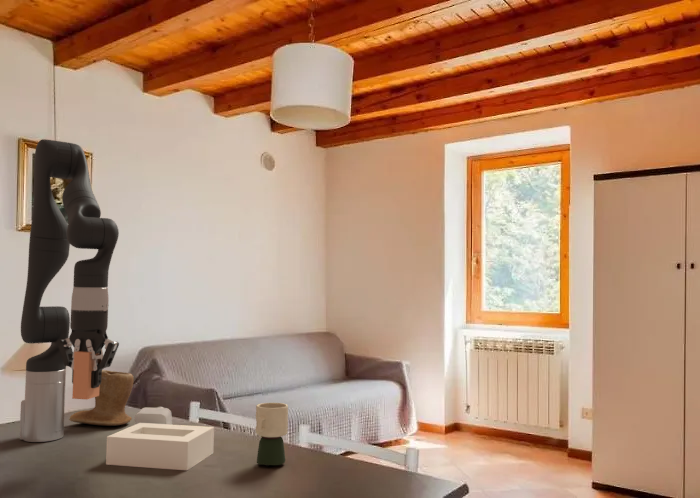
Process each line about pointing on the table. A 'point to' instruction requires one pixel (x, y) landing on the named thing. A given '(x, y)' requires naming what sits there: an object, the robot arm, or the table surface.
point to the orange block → (83, 377)
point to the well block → (160, 446)
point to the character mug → (271, 432)
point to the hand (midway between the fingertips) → (86, 386)
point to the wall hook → (154, 416)
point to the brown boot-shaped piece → (109, 401)
